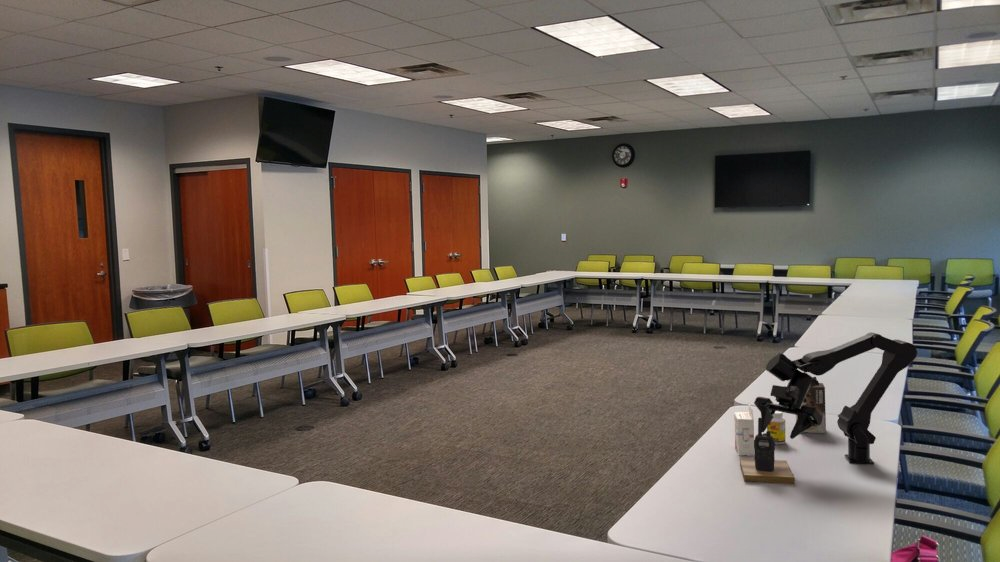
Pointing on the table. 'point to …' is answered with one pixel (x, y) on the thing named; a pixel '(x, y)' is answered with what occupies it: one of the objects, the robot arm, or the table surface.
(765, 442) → the two-way radio
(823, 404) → the coffee box
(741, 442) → the ink cartridge box
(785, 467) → the tan flat wooden block
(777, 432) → the supplement bottle
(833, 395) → the table surface
